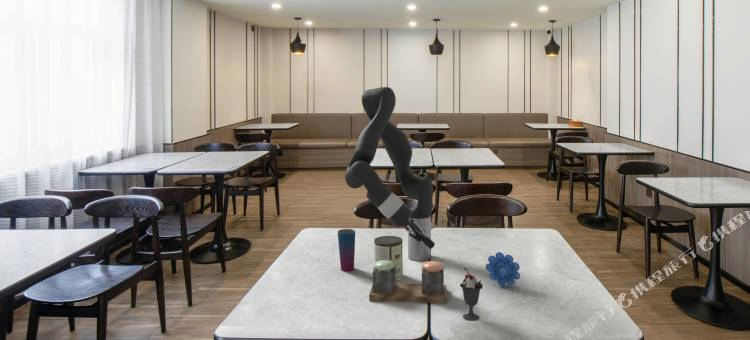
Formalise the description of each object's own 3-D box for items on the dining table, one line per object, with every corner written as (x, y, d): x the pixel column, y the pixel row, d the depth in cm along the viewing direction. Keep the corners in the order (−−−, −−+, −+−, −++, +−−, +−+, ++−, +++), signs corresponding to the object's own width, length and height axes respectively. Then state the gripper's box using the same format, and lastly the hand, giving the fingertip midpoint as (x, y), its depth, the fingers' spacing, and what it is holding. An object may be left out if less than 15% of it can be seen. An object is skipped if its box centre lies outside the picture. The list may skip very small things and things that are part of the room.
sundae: (457, 313, 160) (457, 265, 158) (478, 311, 160) (479, 264, 158) (462, 322, 153) (462, 273, 151) (485, 321, 154) (485, 272, 152)
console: (369, 300, 170) (368, 274, 169) (373, 288, 181) (372, 263, 180) (446, 303, 167) (446, 276, 166) (446, 290, 178) (446, 264, 177)
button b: (422, 289, 170) (422, 267, 169) (423, 282, 176) (423, 260, 175) (442, 290, 169) (442, 267, 168) (442, 282, 176) (442, 261, 174)
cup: (353, 272, 197) (352, 233, 195) (336, 271, 198) (335, 233, 196) (358, 266, 203) (357, 229, 201) (341, 265, 205) (340, 228, 203)
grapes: (485, 289, 178) (486, 255, 176) (485, 282, 185) (485, 249, 183) (521, 291, 176) (522, 256, 174) (519, 283, 183) (520, 250, 181)
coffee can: (381, 270, 199) (381, 234, 197) (407, 274, 194) (406, 237, 192) (370, 279, 190) (369, 241, 187) (396, 283, 185) (395, 244, 183)
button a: (373, 288, 172) (373, 266, 171) (376, 281, 178) (375, 259, 177) (393, 288, 171) (393, 266, 170) (394, 281, 177) (394, 260, 176)
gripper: (401, 206, 163) (441, 244, 164) (404, 197, 176) (441, 233, 177) (384, 222, 165) (424, 260, 165) (388, 212, 178) (425, 248, 178)
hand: (432, 246), depth 171 cm, fingers closed
